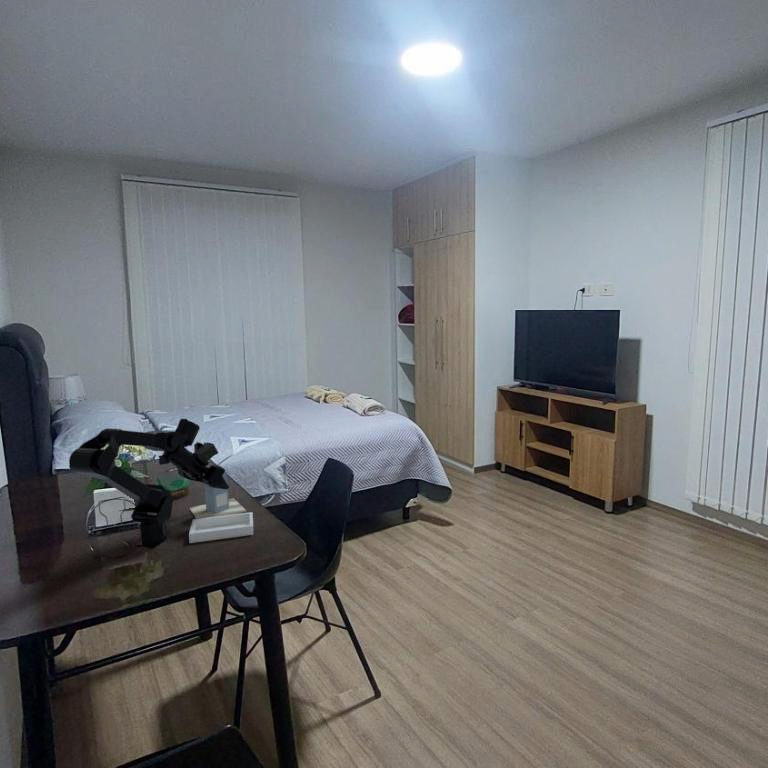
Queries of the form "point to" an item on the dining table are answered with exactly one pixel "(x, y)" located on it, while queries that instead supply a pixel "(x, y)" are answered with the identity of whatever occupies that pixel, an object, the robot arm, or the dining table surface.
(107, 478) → the robot arm
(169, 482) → the food container
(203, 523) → the tray
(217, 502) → the carton
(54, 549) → the dining table surface
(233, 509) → the board
